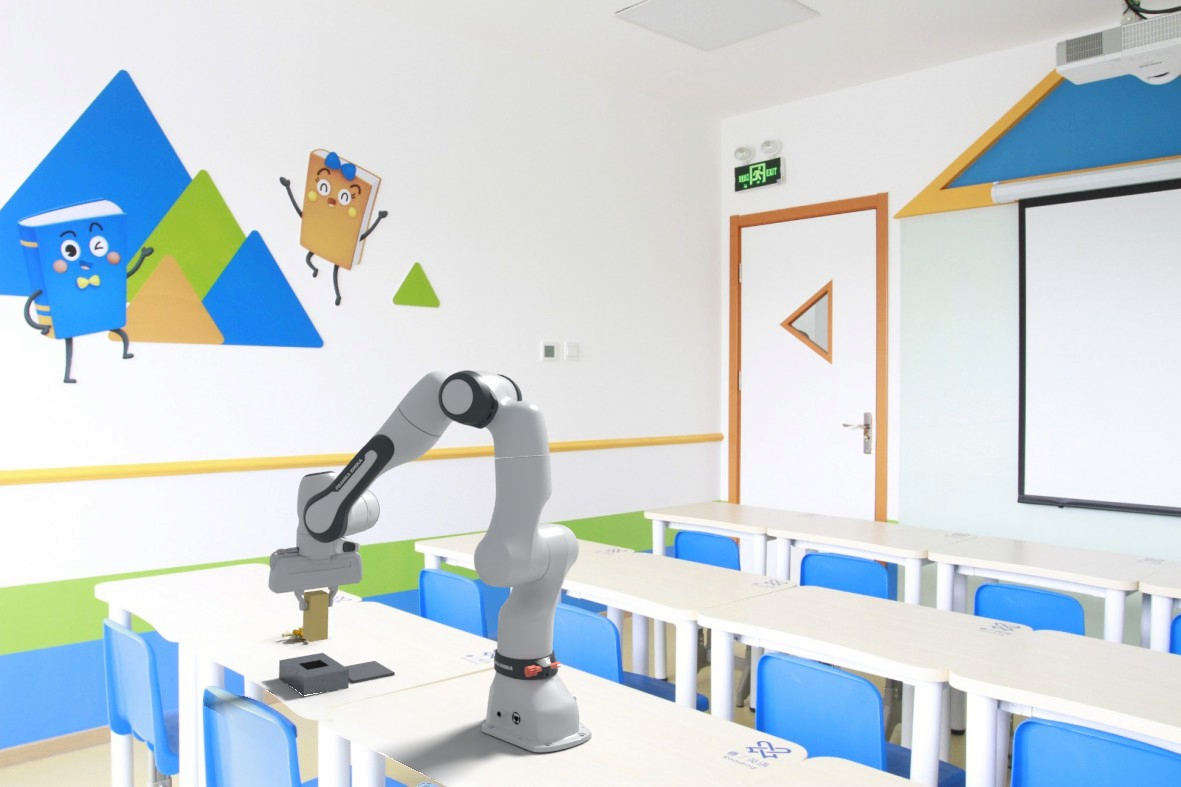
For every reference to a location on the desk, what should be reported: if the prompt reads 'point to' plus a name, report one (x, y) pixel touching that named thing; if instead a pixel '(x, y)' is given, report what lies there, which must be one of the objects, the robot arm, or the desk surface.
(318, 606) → the square block
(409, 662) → the desk surface
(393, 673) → the rubber mat
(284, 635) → the character toy
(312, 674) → the grey block with hole
